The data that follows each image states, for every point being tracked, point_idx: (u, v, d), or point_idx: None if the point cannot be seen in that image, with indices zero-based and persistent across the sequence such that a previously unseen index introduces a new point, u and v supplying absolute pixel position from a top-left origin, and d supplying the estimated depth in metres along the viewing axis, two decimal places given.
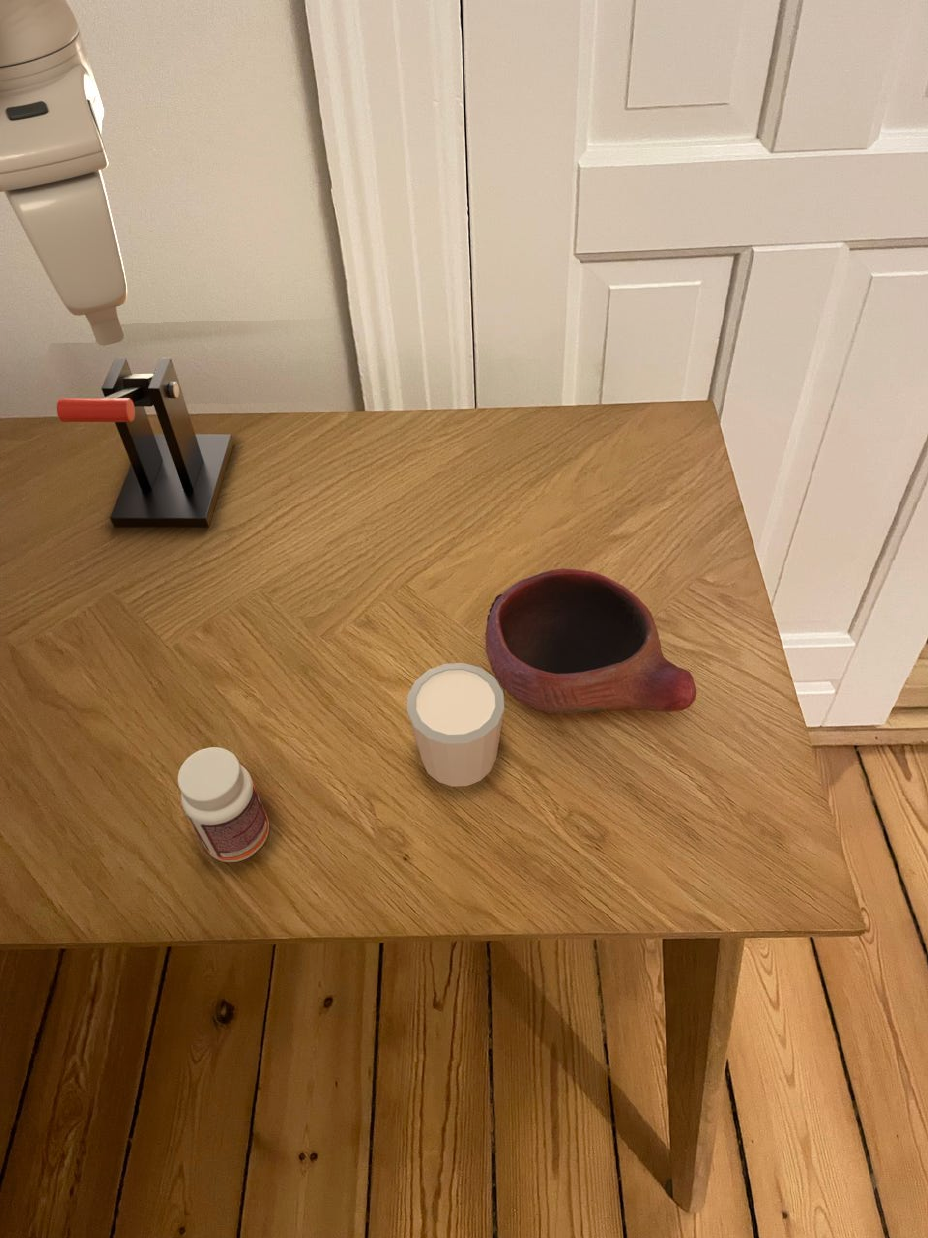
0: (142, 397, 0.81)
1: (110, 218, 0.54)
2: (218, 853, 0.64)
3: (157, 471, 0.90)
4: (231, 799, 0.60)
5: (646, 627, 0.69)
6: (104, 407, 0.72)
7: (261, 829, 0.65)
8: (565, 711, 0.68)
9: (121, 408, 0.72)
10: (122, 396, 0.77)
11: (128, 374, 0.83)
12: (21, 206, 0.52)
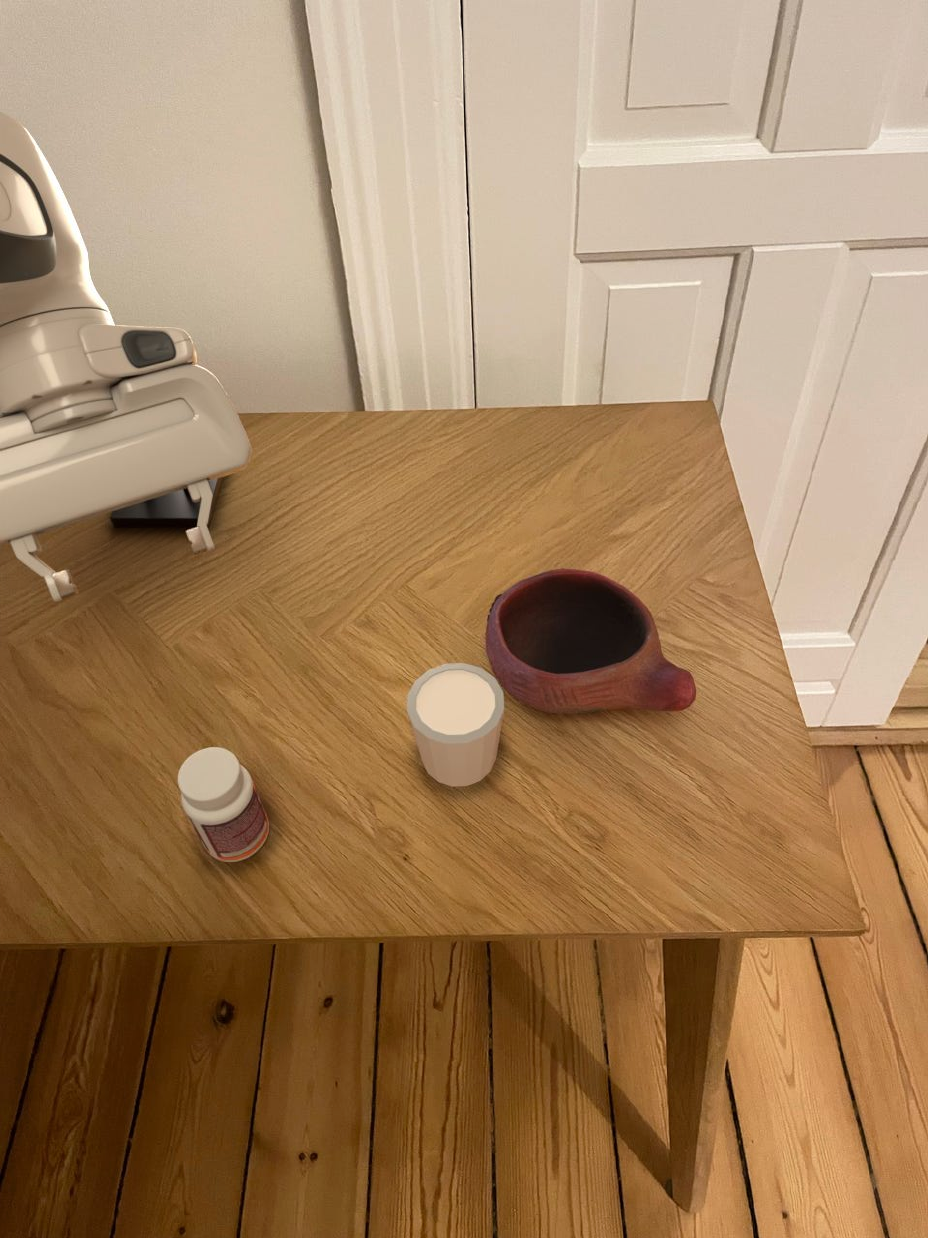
0: None
1: None
2: (218, 853, 0.64)
3: None
4: (231, 799, 0.60)
5: (646, 627, 0.69)
6: None
7: (261, 829, 0.65)
8: (565, 711, 0.68)
9: None
10: None
11: None
12: (204, 368, 0.62)
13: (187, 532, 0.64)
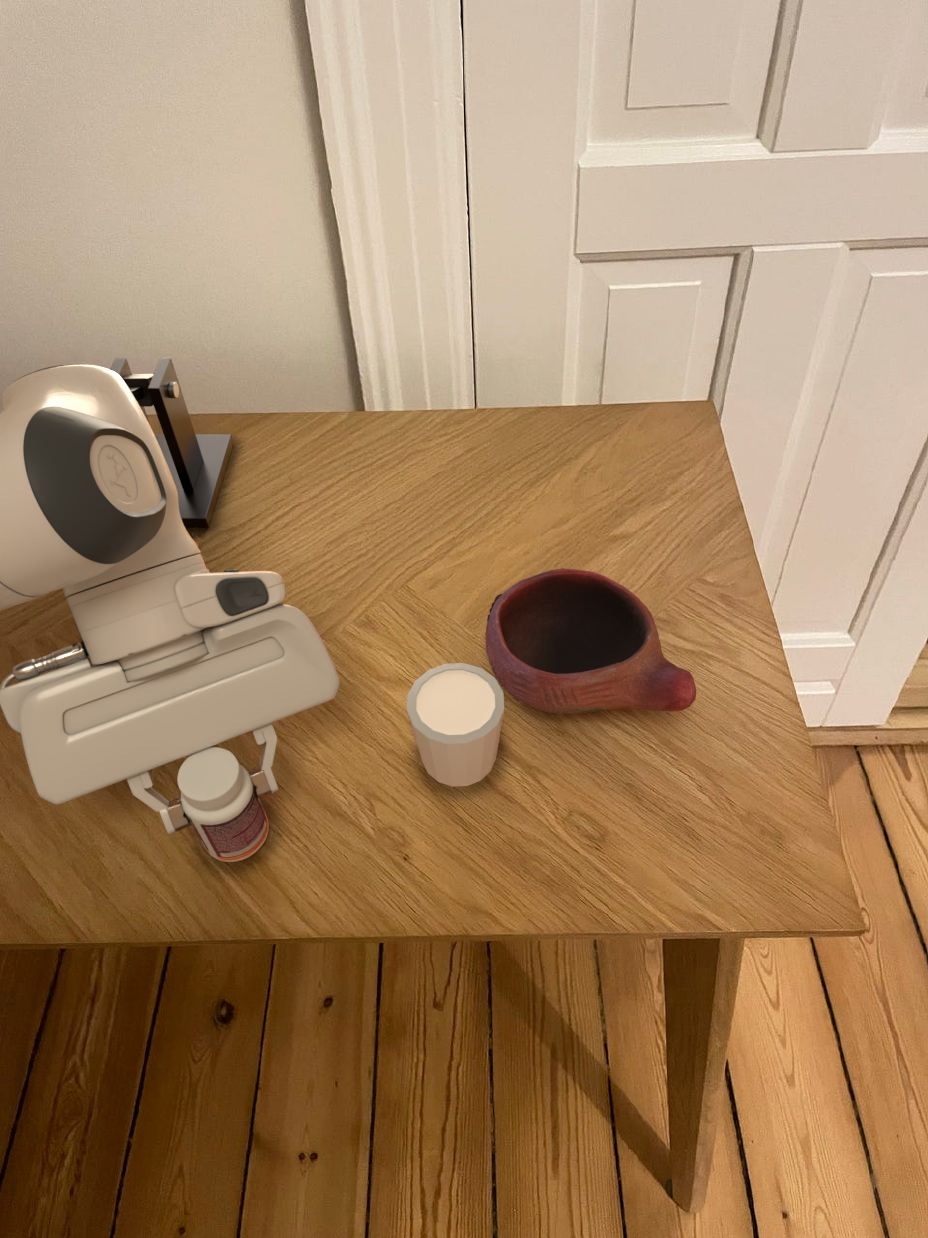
0: (142, 397, 0.81)
1: None
2: (218, 853, 0.64)
3: None
4: (231, 799, 0.60)
5: (646, 627, 0.69)
6: None
7: (260, 829, 0.65)
8: (565, 711, 0.68)
9: None
10: None
11: (128, 374, 0.83)
12: (295, 607, 0.62)
13: (252, 777, 0.63)
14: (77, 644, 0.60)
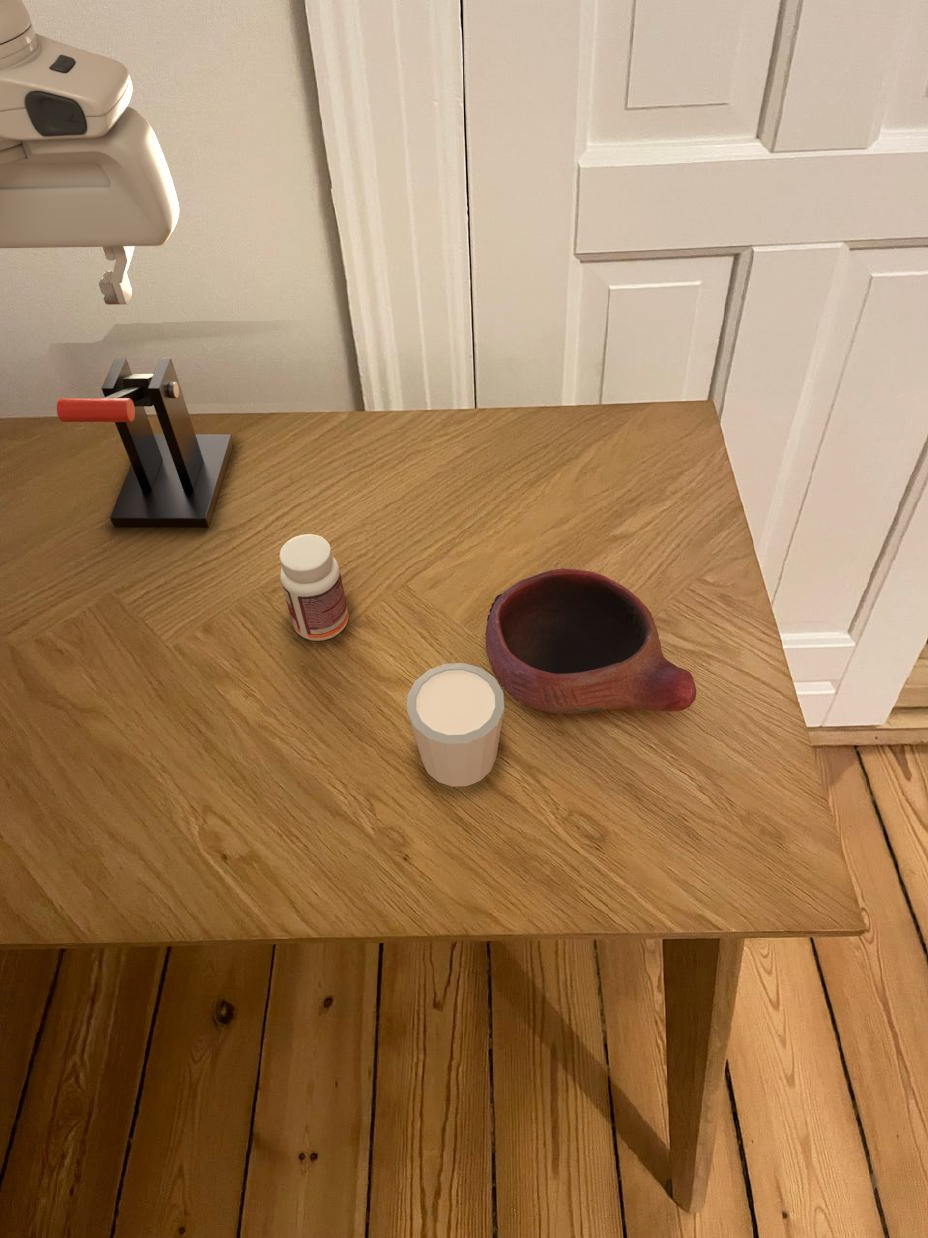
0: (142, 397, 0.81)
1: None
2: (308, 630, 0.77)
3: (157, 471, 0.90)
4: (324, 573, 0.73)
5: (646, 627, 0.69)
6: (104, 407, 0.72)
7: (343, 612, 0.77)
8: (565, 711, 0.68)
9: (121, 408, 0.72)
10: (122, 396, 0.77)
11: (128, 374, 0.83)
12: (122, 141, 0.56)
13: (100, 285, 0.64)
14: None
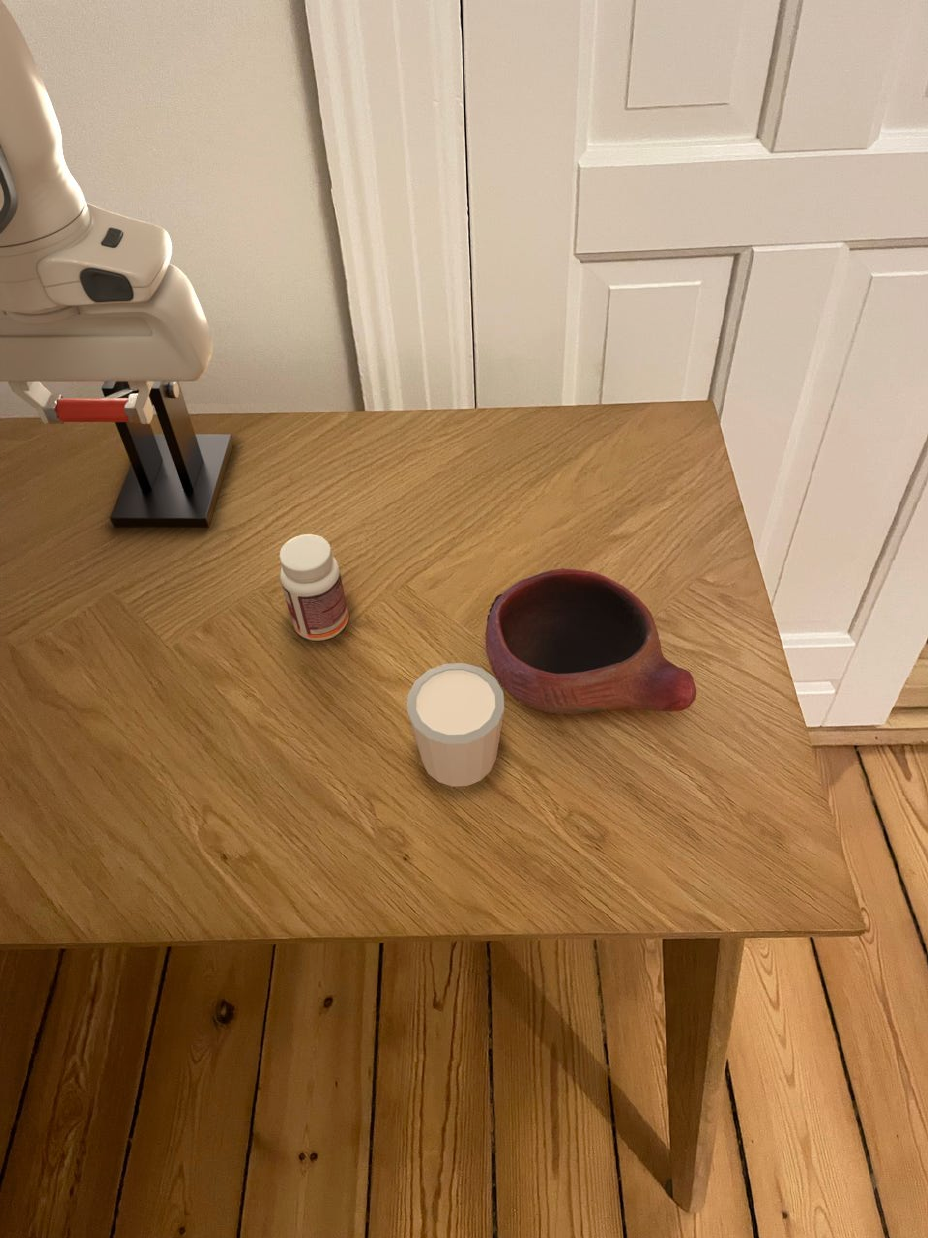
0: None
1: None
2: (308, 630, 0.77)
3: (157, 471, 0.90)
4: (324, 573, 0.73)
5: (646, 627, 0.69)
6: (104, 407, 0.72)
7: (343, 612, 0.77)
8: (565, 711, 0.68)
9: (121, 408, 0.72)
10: (122, 396, 0.77)
11: None
12: (164, 303, 0.63)
13: (125, 409, 0.72)
14: None
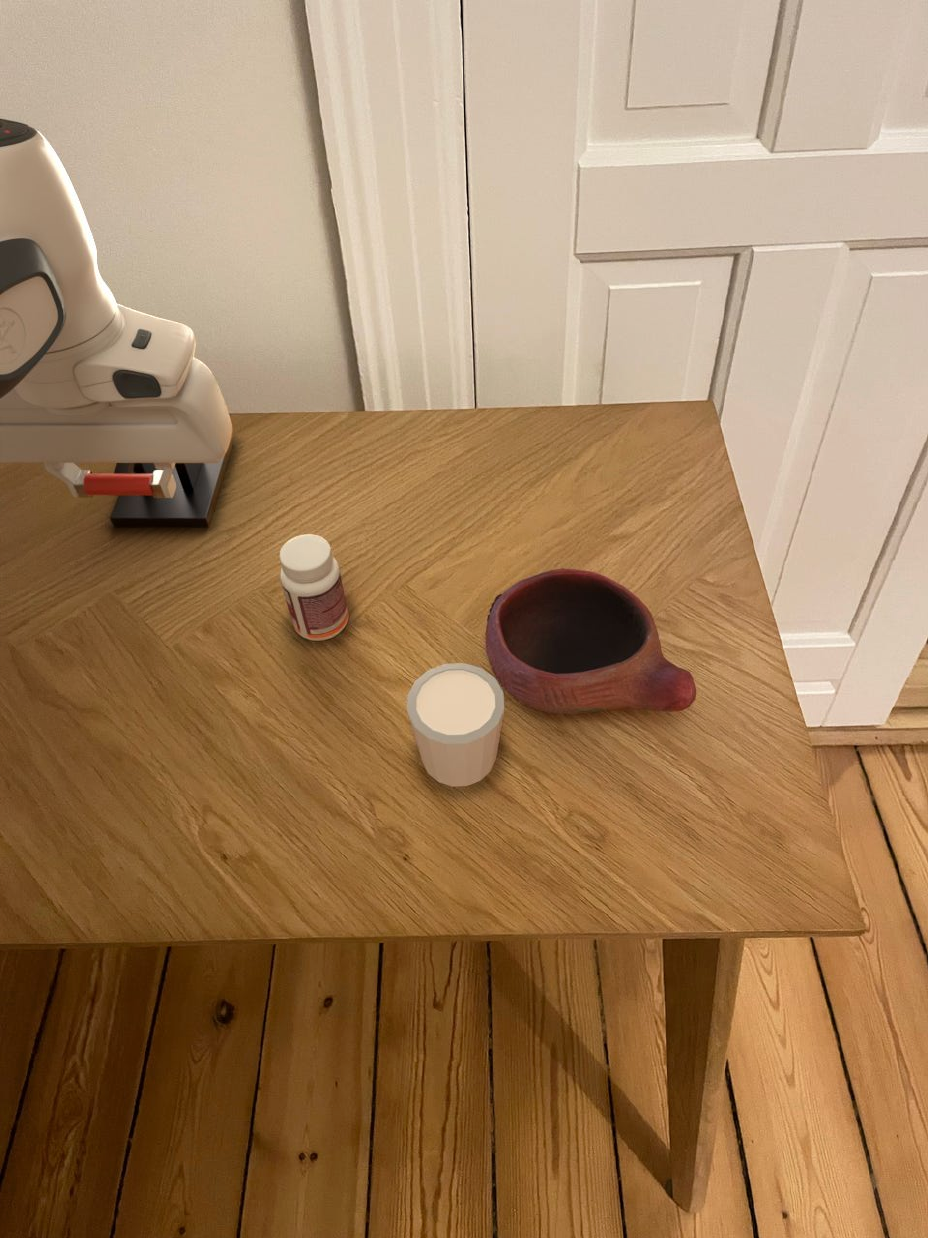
0: None
1: (213, 378, 0.72)
2: (308, 630, 0.77)
3: None
4: (324, 573, 0.73)
5: (646, 627, 0.69)
6: (129, 490, 0.77)
7: (343, 612, 0.77)
8: (565, 711, 0.68)
9: (145, 491, 0.77)
10: None
11: None
12: (189, 397, 0.68)
13: (150, 485, 0.77)
14: None
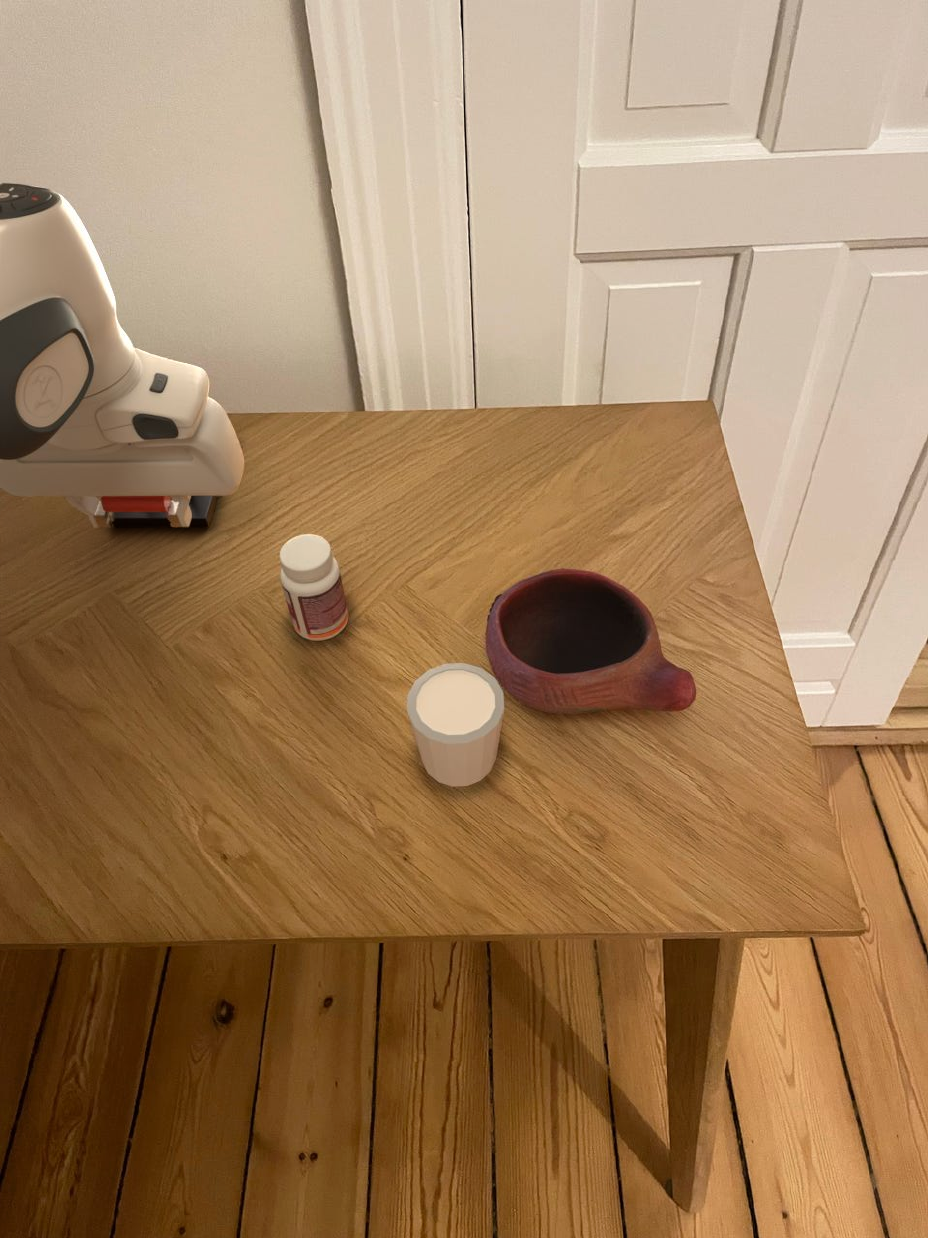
0: None
1: (226, 415, 0.76)
2: (308, 630, 0.77)
3: None
4: (324, 573, 0.73)
5: (646, 627, 0.69)
6: (146, 509, 0.81)
7: (343, 612, 0.77)
8: (565, 711, 0.68)
9: (161, 510, 0.81)
10: None
11: None
12: (204, 437, 0.72)
13: (167, 516, 0.81)
14: None
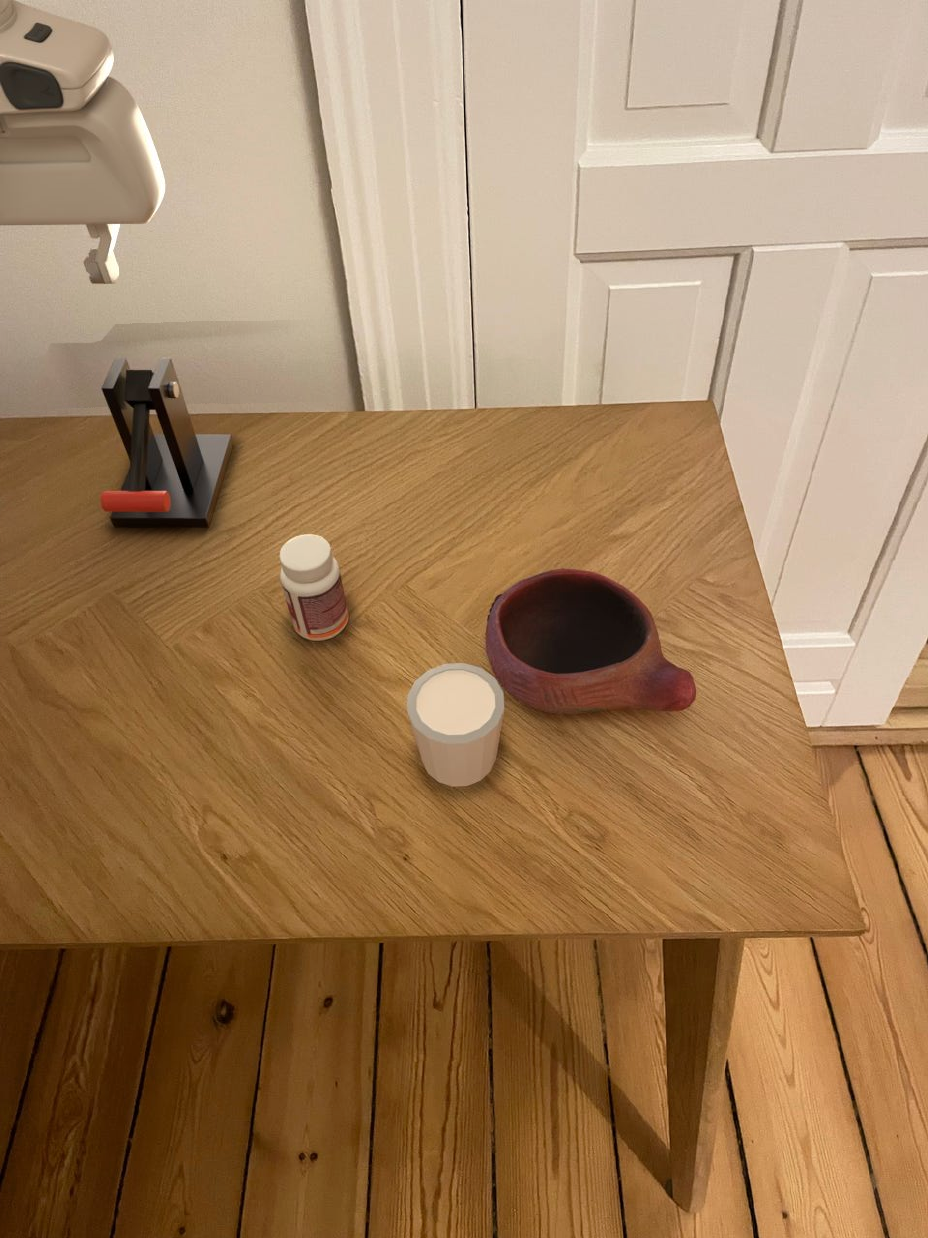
0: (149, 409, 0.82)
1: None
2: (308, 630, 0.77)
3: (157, 471, 0.90)
4: (324, 573, 0.73)
5: (646, 627, 0.69)
6: (145, 509, 0.81)
7: (343, 612, 0.77)
8: (565, 711, 0.68)
9: (161, 510, 0.81)
10: (143, 454, 0.81)
11: None
12: (101, 114, 0.53)
13: (85, 264, 0.62)
14: None
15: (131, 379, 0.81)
